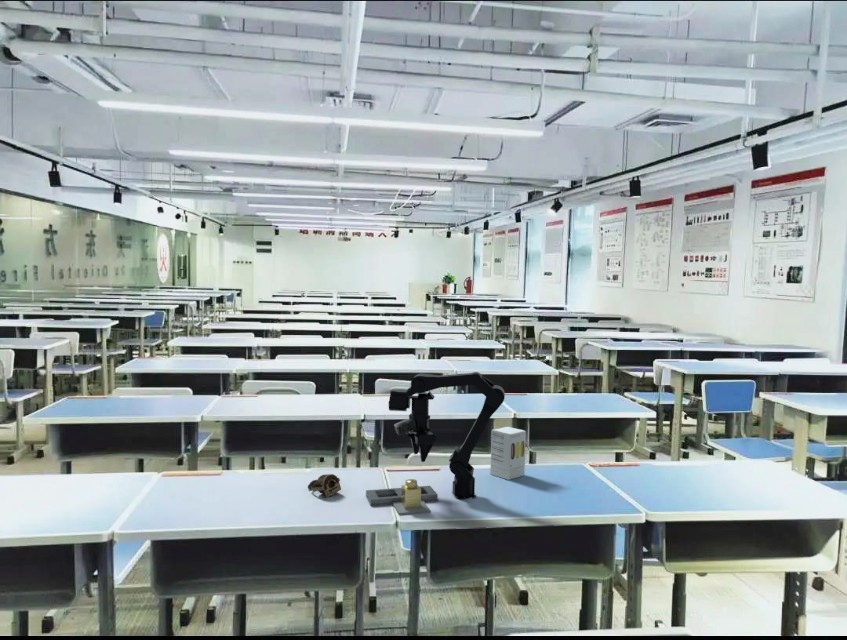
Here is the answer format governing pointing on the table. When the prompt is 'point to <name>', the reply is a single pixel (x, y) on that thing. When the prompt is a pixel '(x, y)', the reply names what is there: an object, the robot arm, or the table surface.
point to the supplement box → (508, 452)
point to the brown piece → (326, 484)
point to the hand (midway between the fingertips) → (419, 457)
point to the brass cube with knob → (411, 495)
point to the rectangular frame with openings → (397, 495)
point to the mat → (403, 511)
